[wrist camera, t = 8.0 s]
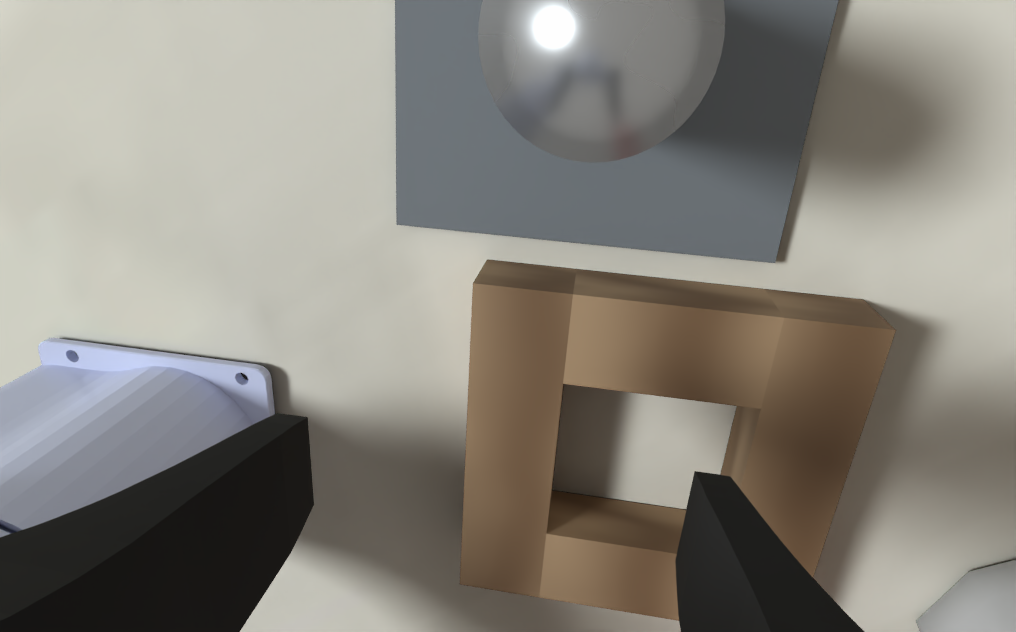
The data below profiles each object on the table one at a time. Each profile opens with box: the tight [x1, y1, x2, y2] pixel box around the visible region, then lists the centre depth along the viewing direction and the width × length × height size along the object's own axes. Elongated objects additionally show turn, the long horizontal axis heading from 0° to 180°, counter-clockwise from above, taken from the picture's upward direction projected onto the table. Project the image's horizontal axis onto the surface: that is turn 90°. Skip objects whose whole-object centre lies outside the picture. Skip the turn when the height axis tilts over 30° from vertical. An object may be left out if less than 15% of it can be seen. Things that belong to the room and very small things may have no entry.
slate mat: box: [395, 0, 839, 263], centre depth 18 cm, size 12×12×1 cm
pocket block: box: [460, 260, 896, 621], centre depth 21 cm, size 12×12×2 cm
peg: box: [478, 0, 725, 163], centre depth 14 cm, size 4×4×8 cm
